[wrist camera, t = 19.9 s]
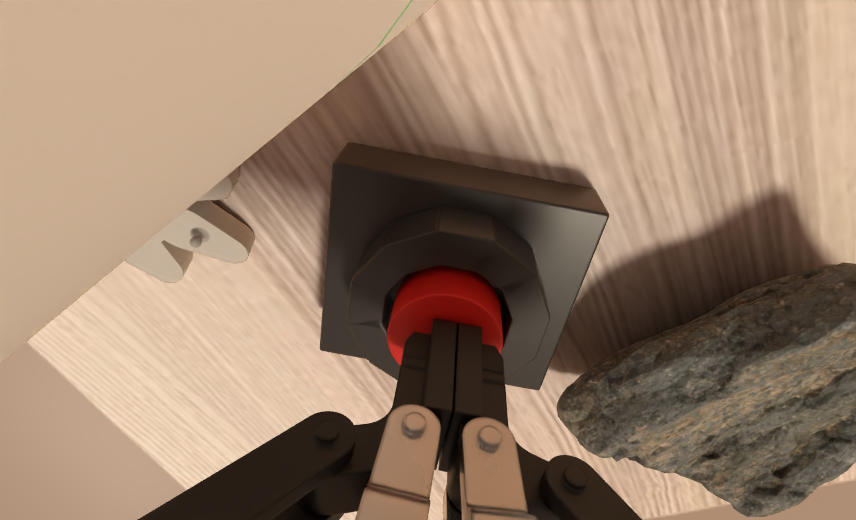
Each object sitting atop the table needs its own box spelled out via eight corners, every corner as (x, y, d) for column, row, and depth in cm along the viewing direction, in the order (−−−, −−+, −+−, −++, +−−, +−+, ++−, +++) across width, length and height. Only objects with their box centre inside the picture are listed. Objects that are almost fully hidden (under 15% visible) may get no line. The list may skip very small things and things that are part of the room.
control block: (332, 317, 21) (305, 383, 18) (347, 141, 17) (316, 183, 14) (533, 354, 22) (545, 427, 18) (596, 188, 17) (626, 241, 14)
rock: (885, 199, 17) (1024, 278, 13) (858, 401, 21) (954, 510, 17) (525, 279, 20) (539, 366, 15) (569, 443, 24) (590, 545, 20)
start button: (388, 339, 18) (380, 373, 16) (402, 254, 16) (394, 284, 14) (487, 357, 18) (487, 393, 16) (512, 274, 16) (516, 306, 14)
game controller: (251, 282, 21) (223, 320, 19) (-26, 194, 20) (-91, 223, 18) (271, 161, 18) (242, 189, 16) (-52, 52, 17) (-133, 64, 15)
